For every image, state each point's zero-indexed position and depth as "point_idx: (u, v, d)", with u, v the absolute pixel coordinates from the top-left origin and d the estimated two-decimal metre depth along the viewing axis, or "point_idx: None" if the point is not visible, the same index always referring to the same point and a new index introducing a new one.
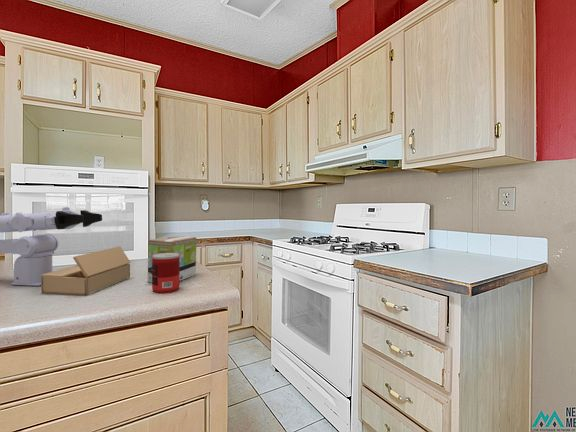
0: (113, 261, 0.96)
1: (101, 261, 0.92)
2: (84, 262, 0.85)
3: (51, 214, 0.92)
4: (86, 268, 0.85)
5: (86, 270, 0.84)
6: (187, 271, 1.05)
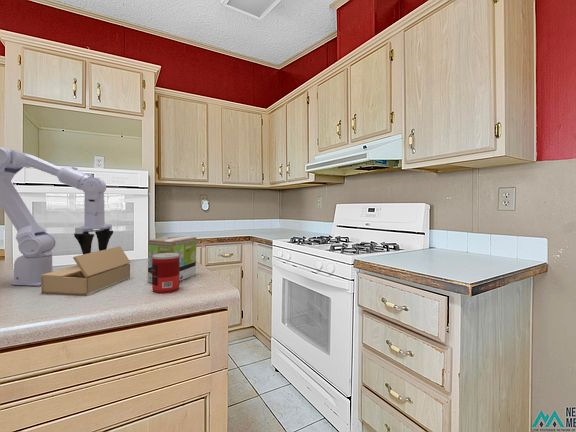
0: (113, 261, 0.96)
1: (101, 261, 0.92)
2: (84, 262, 0.85)
3: (95, 217, 0.97)
4: (86, 268, 0.85)
5: (86, 270, 0.84)
6: (187, 271, 1.05)
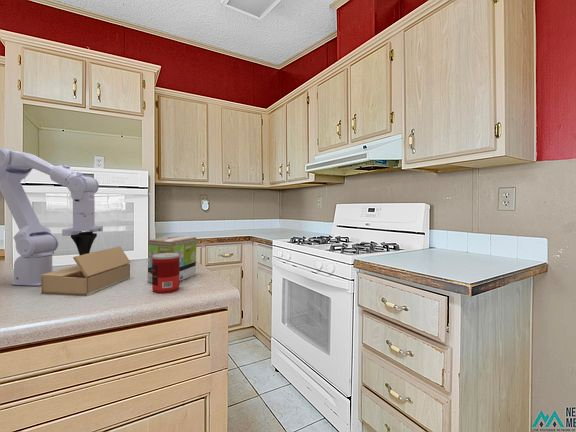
0: (113, 261, 0.96)
1: (101, 261, 0.92)
2: (84, 262, 0.85)
3: (84, 218, 0.91)
4: (86, 268, 0.85)
5: (86, 270, 0.84)
6: (187, 271, 1.05)
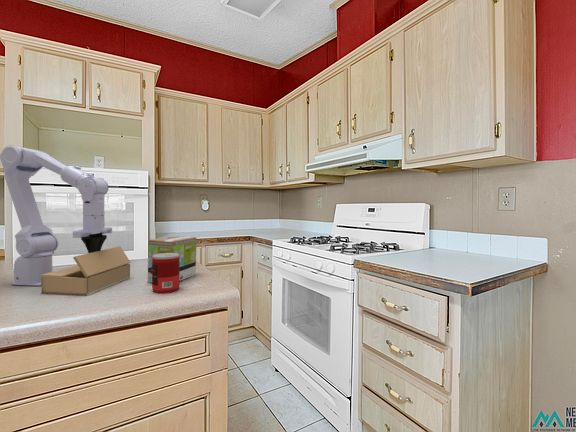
0: (113, 261, 0.96)
1: (101, 261, 0.92)
2: (84, 262, 0.85)
3: (95, 220, 0.91)
4: (86, 268, 0.85)
5: (86, 270, 0.84)
6: (187, 271, 1.05)
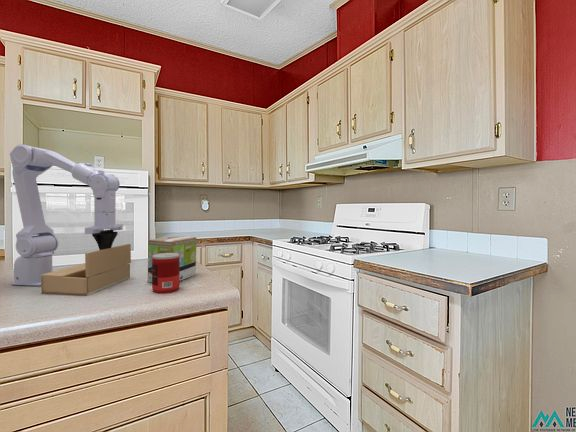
0: (117, 260, 0.96)
1: (107, 260, 0.91)
2: (92, 260, 0.85)
3: (106, 217, 0.91)
4: (91, 268, 0.85)
5: (89, 270, 0.84)
6: (187, 271, 1.05)
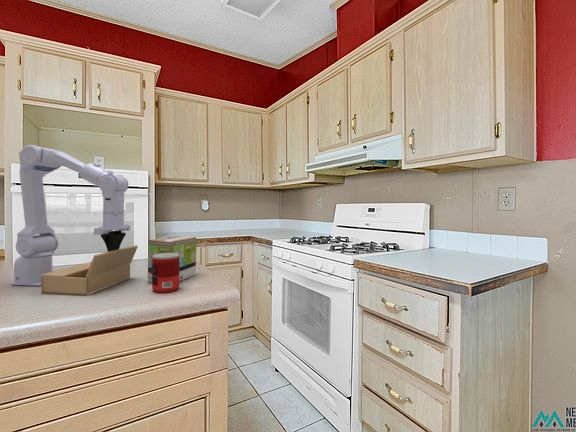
0: (119, 261, 0.96)
1: (111, 261, 0.91)
2: (98, 262, 0.85)
3: (115, 217, 0.91)
4: (94, 269, 0.85)
5: (92, 271, 0.84)
6: (187, 271, 1.05)
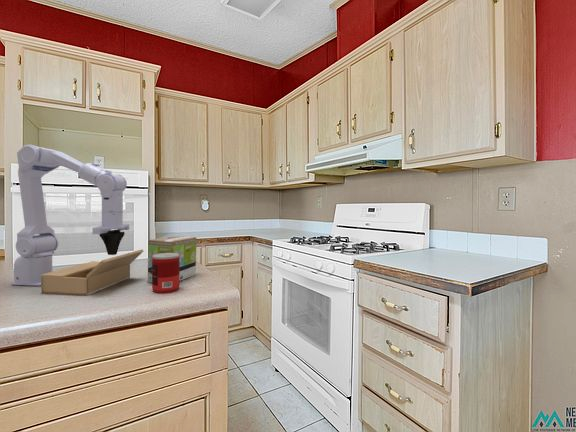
0: (121, 263, 0.96)
1: (114, 264, 0.91)
2: (102, 266, 0.85)
3: (113, 217, 0.91)
4: (96, 271, 0.85)
5: (93, 273, 0.84)
6: (187, 271, 1.05)
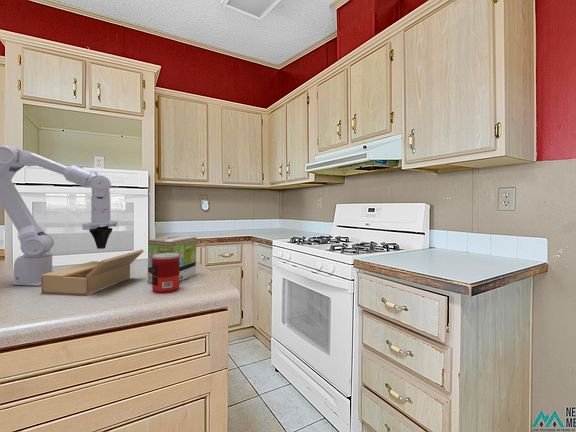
0: (121, 263, 0.96)
1: (114, 264, 0.91)
2: (102, 266, 0.85)
3: (102, 214, 1.00)
4: (96, 271, 0.85)
5: (93, 273, 0.84)
6: (187, 271, 1.05)
